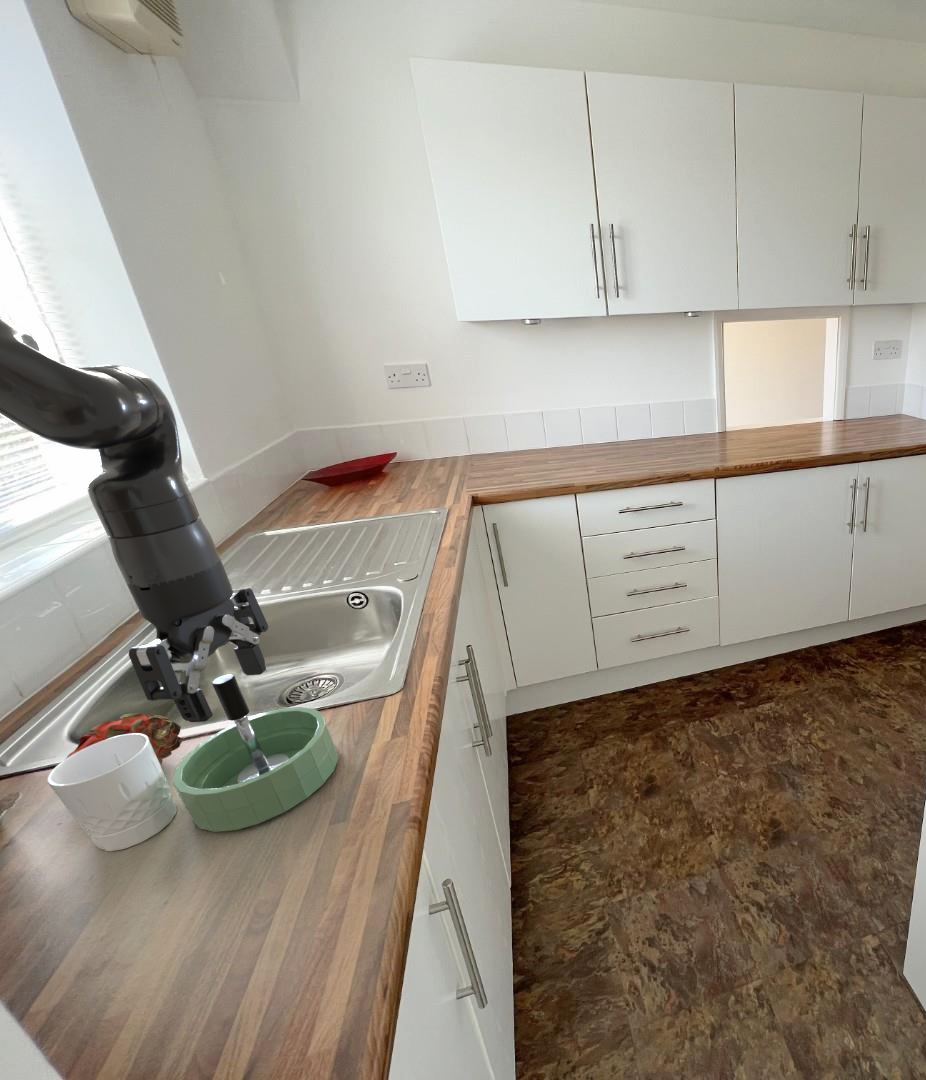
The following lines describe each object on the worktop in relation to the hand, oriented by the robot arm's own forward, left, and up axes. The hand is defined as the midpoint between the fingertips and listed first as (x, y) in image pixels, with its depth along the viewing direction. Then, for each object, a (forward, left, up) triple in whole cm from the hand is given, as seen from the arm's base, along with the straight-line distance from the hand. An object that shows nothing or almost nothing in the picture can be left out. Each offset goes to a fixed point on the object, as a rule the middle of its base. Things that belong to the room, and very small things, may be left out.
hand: (230, 695), depth 66 cm
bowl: (0, 0, -13) cm, 13 cm away
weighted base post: (0, 0, -13) cm, 13 cm away
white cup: (-11, -5, -14) cm, 18 cm away
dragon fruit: (-20, +4, -14) cm, 24 cm away
